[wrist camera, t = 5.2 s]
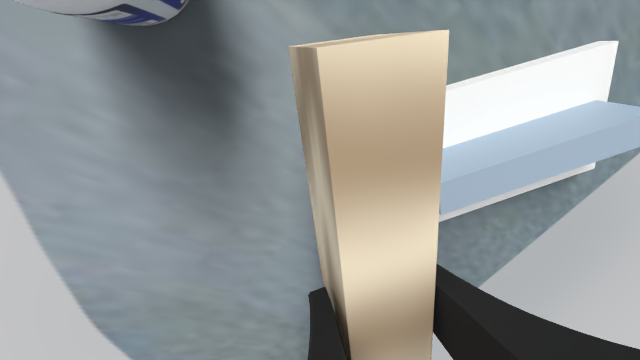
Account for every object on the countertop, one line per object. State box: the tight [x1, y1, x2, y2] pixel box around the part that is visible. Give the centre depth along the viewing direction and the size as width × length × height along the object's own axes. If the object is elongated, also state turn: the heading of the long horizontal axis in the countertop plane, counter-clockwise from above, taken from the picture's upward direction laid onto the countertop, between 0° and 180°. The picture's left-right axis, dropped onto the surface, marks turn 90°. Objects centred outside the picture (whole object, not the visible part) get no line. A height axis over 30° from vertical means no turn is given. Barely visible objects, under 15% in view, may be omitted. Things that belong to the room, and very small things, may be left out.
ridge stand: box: [439, 41, 640, 222], centre depth 19 cm, size 9×16×5 cm, turn 103°
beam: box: [288, 30, 449, 360], centre depth 12 cm, size 18×3×4 cm, turn 7°
